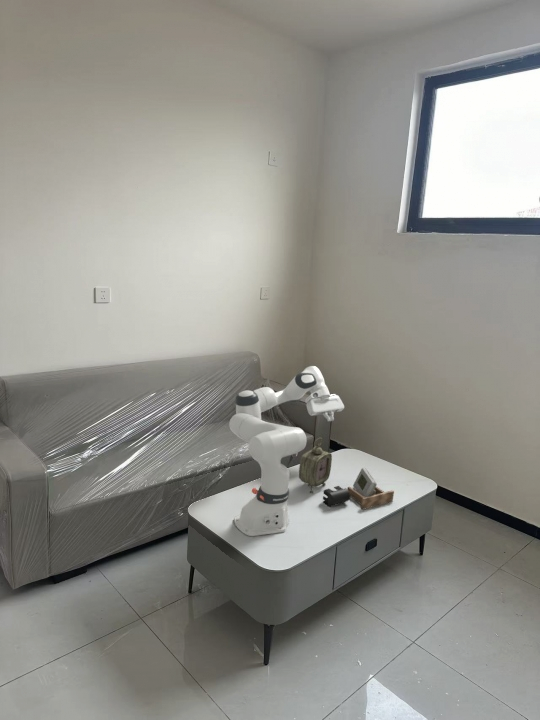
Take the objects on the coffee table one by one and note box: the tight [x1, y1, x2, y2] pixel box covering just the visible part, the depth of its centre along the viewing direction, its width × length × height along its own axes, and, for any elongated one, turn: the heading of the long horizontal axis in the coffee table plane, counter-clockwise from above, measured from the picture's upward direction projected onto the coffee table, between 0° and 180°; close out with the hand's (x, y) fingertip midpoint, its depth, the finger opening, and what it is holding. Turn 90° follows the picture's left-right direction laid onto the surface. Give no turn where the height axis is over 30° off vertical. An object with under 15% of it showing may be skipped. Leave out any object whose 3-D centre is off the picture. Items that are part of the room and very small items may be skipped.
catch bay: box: [346, 486, 395, 510], centre depth 228 cm, size 18×14×5 cm
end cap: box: [322, 485, 351, 508], centre depth 221 cm, size 10×7×7 cm
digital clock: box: [352, 467, 378, 497], centre depth 229 cm, size 16×9×11 cm, turn 177°
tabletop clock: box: [298, 437, 333, 495], centre depth 231 cm, size 14×9×25 cm, turn 143°
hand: (331, 420), depth 248 cm, fingers closed
